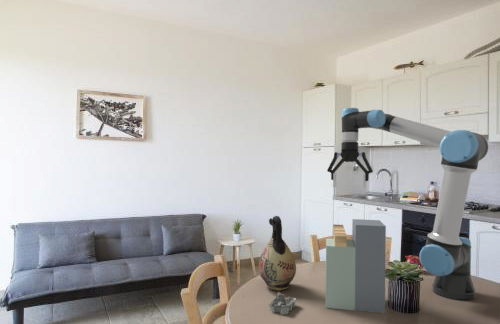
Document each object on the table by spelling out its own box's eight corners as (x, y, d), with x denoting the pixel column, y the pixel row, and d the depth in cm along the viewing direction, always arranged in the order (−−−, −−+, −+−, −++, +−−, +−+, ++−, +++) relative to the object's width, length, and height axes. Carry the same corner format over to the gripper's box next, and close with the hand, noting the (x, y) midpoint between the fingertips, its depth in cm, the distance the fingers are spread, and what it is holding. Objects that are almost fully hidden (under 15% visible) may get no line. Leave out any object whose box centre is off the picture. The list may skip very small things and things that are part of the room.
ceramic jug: (256, 281, 155) (257, 212, 155) (291, 280, 156) (291, 212, 157) (261, 295, 138) (262, 218, 138) (300, 294, 140) (301, 218, 140)
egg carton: (279, 302, 132) (279, 291, 132) (298, 306, 129) (298, 294, 129) (266, 312, 123) (266, 300, 123) (286, 316, 119) (286, 304, 119)
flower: (422, 272, 165) (426, 257, 168) (401, 265, 170) (406, 250, 173) (421, 279, 172) (425, 264, 175) (401, 272, 177) (406, 257, 180)
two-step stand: (325, 293, 140) (326, 218, 141) (378, 298, 136) (379, 220, 137) (325, 307, 127) (326, 223, 127) (384, 313, 123) (385, 226, 123)
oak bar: (333, 233, 150) (333, 224, 150) (342, 234, 149) (343, 224, 149) (334, 246, 126) (335, 235, 126) (346, 247, 125) (346, 235, 126)
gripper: (379, 141, 162) (378, 188, 162) (325, 142, 173) (324, 186, 173) (377, 140, 155) (376, 189, 155) (321, 141, 167) (320, 187, 166)
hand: (349, 187), depth 164 cm, fingers open, 13 cm apart
